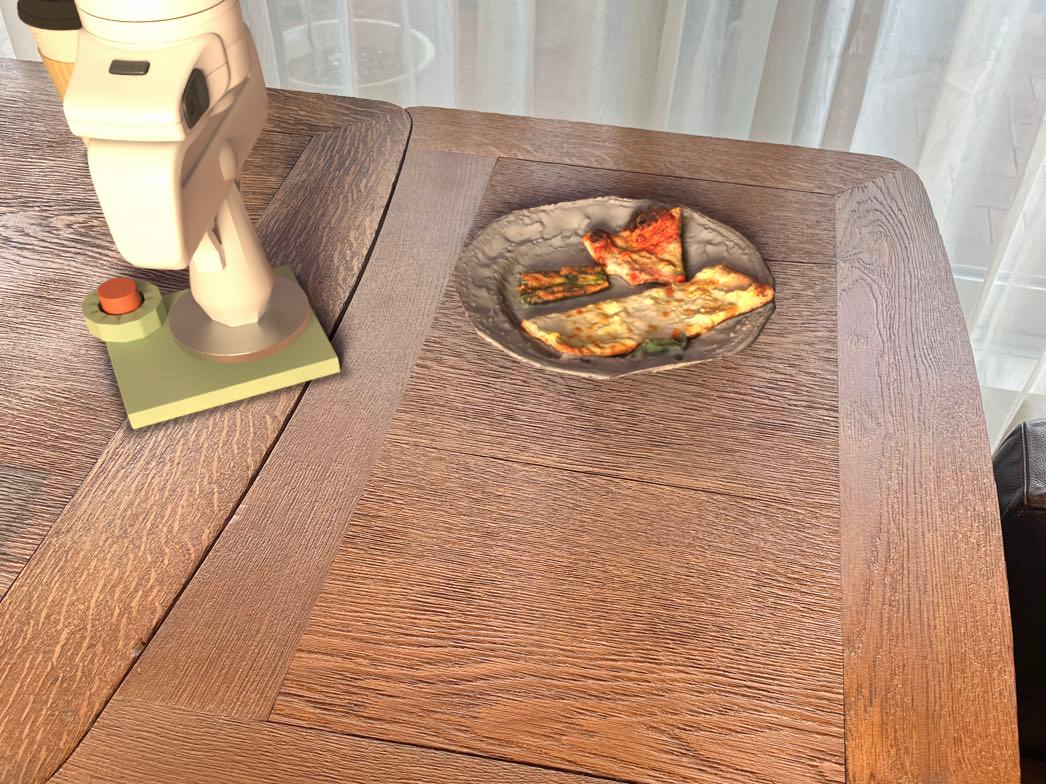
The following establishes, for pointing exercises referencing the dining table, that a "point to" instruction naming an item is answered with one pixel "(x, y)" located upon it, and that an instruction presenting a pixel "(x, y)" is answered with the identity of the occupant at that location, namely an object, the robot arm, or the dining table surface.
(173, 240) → the robot arm
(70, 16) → the coffee cup
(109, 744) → the dining table surface
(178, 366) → the scale
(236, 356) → the scale pan
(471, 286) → the food plate
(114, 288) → the button
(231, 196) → the salt shaker
